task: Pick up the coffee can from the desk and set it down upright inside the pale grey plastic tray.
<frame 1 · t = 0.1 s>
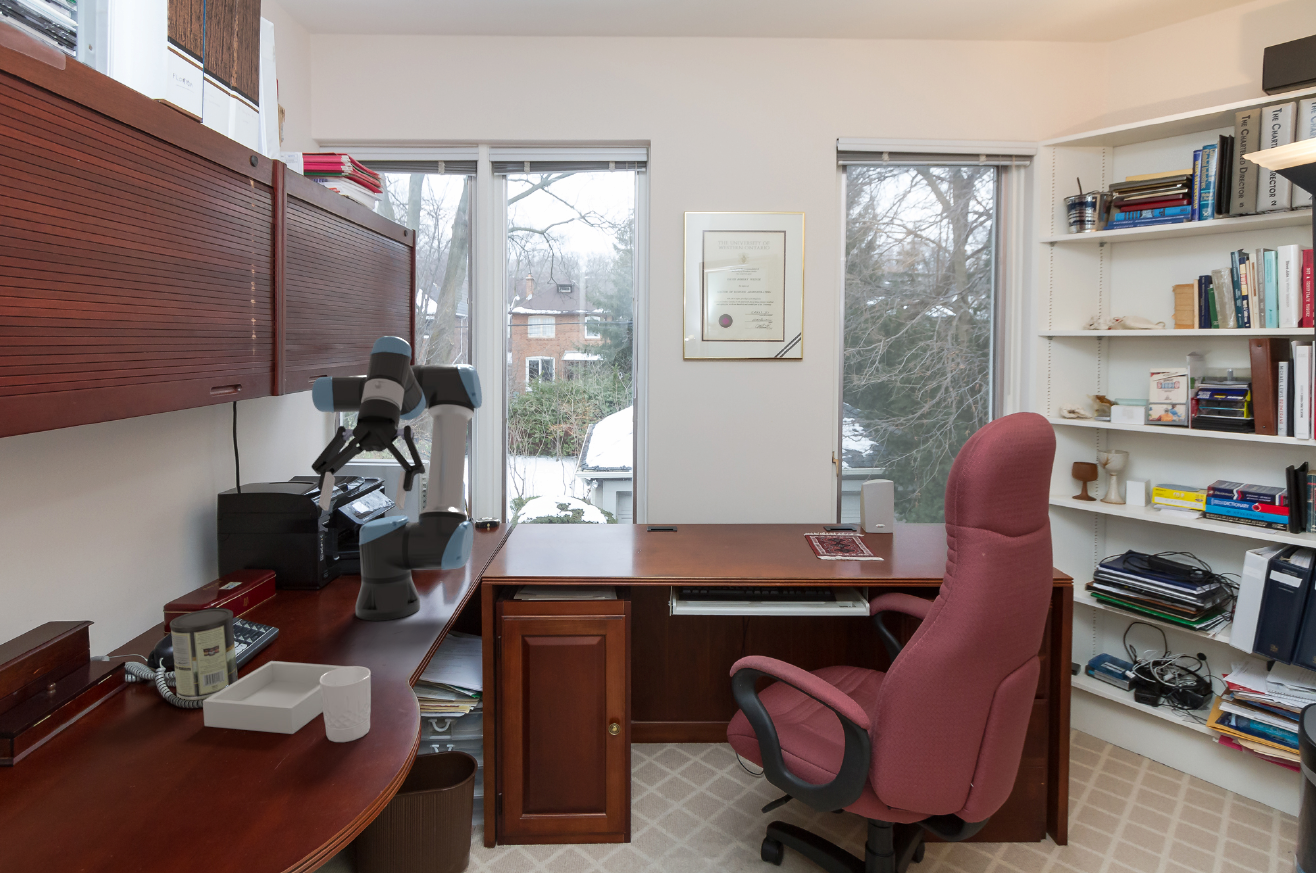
hand: (361, 507, 134), 36 cm above the table, tool tilted 35°, fingers open, 13 cm apart
white cup: (348, 733, 125), on the table
coffee can: (207, 689, 143), on the table
tray: (282, 706, 135), on the table
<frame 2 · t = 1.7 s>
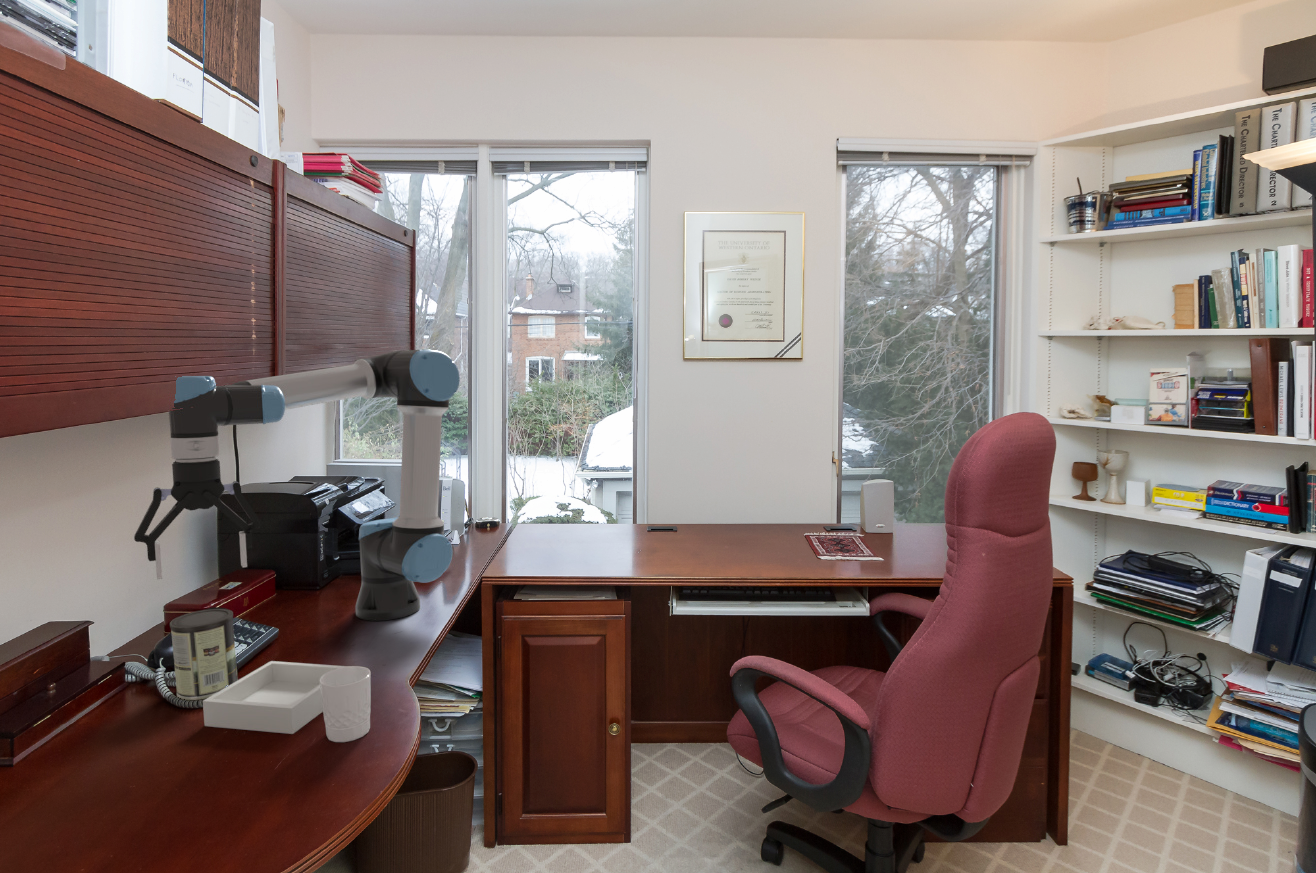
hand: (202, 571, 140), 23 cm above the table, tool pointing down, fingers open, 13 cm apart
nothing on the table moved.
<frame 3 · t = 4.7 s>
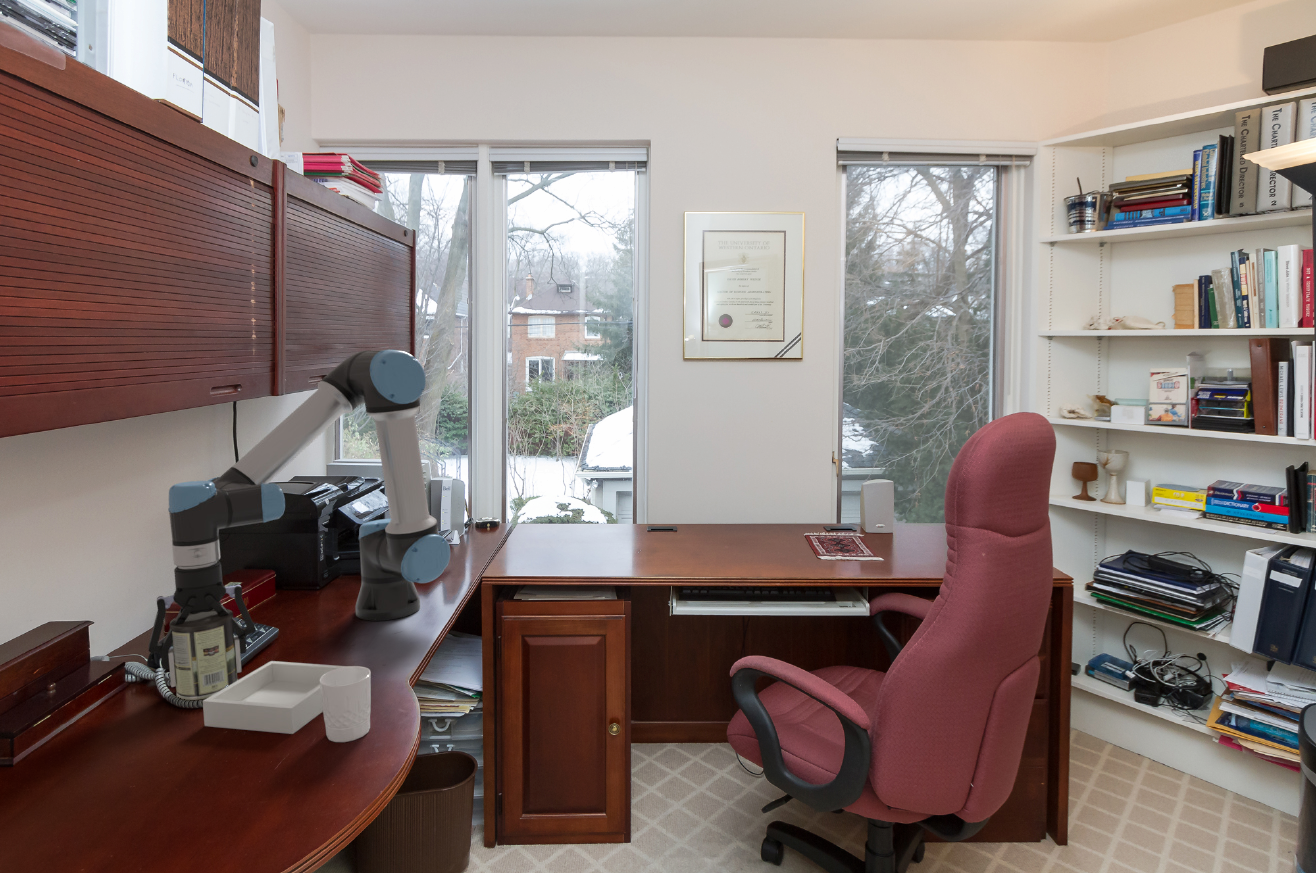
hand: (206, 676, 142), 2 cm above the table, tool pointing down, fingers closed on coffee can, 10 cm apart
coffee can: (207, 689, 143), on the table, touching gripper
everything else where it was.
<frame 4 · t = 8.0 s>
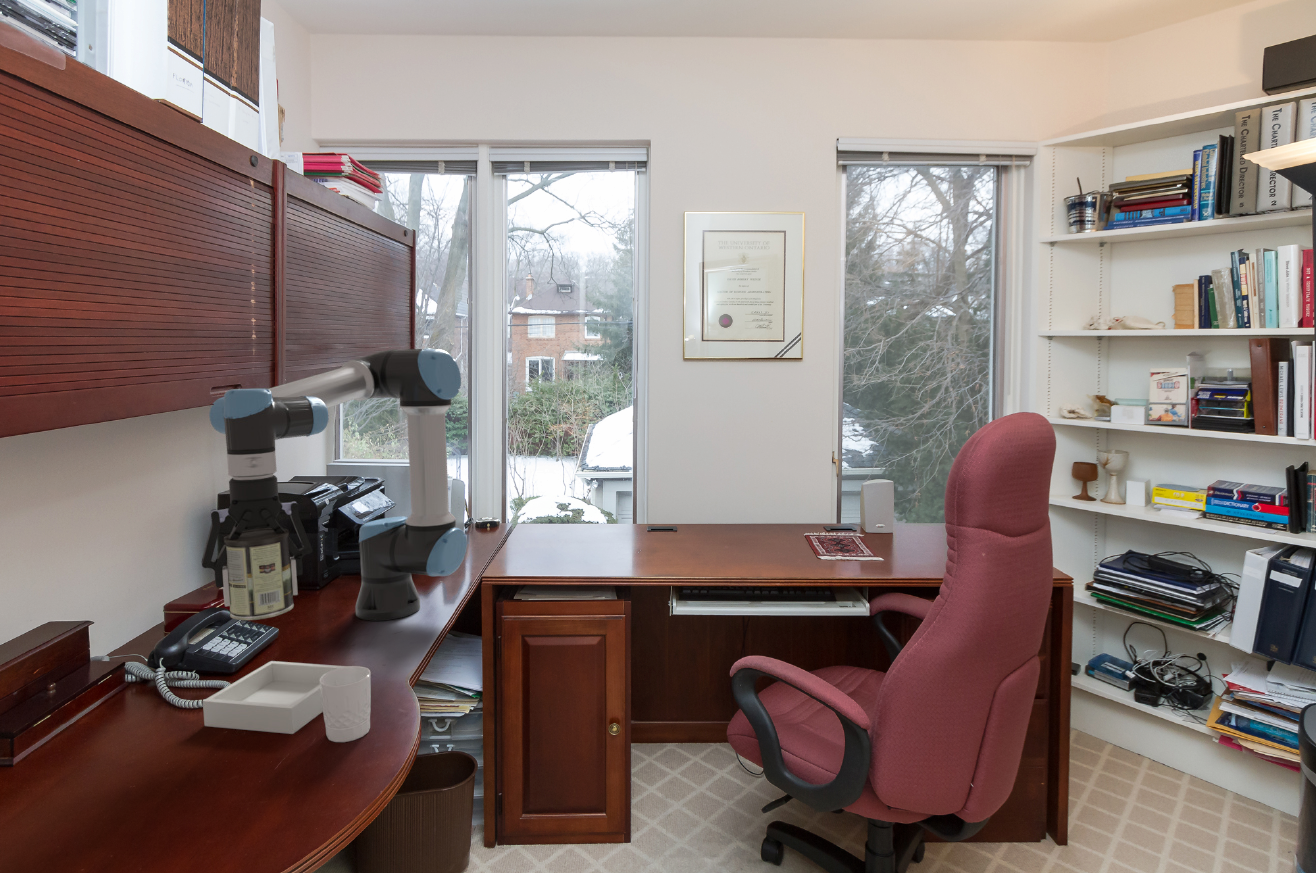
hand: (261, 598, 133), 20 cm above the table, tool pointing down, fingers closed on coffee can, 10 cm apart
coffee can: (262, 611, 134), point 17 cm above the table, touching gripper
everything else where it was.
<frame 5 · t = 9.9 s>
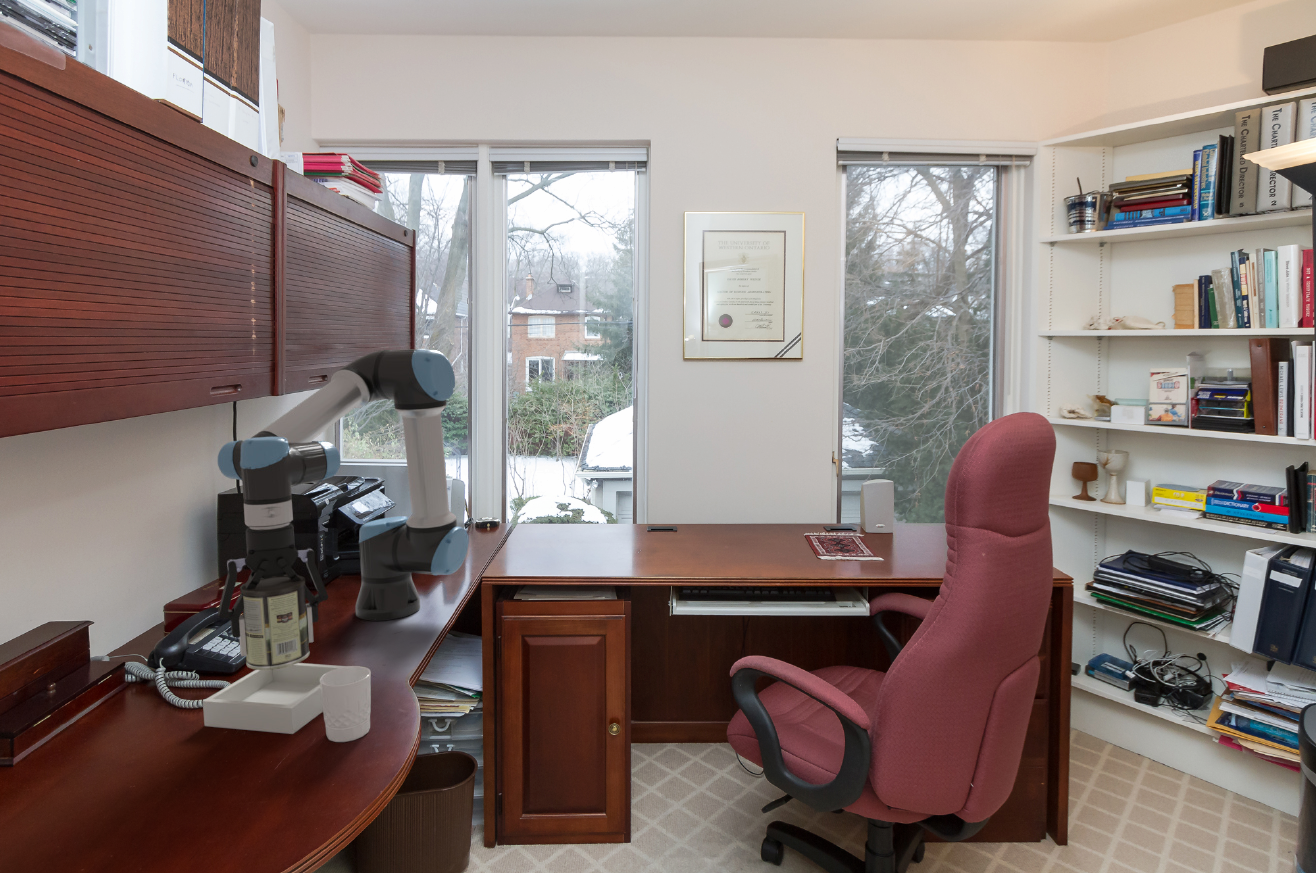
hand: (277, 646, 133), 11 cm above the table, tool pointing down, fingers closed on coffee can, 10 cm apart
coffee can: (278, 659, 133), point 9 cm above the table, touching gripper
everything else where it was.
when the fingers open (5 cm above the table, at t = 11.6 s): coffee can drops 2 cm, resting on tray.
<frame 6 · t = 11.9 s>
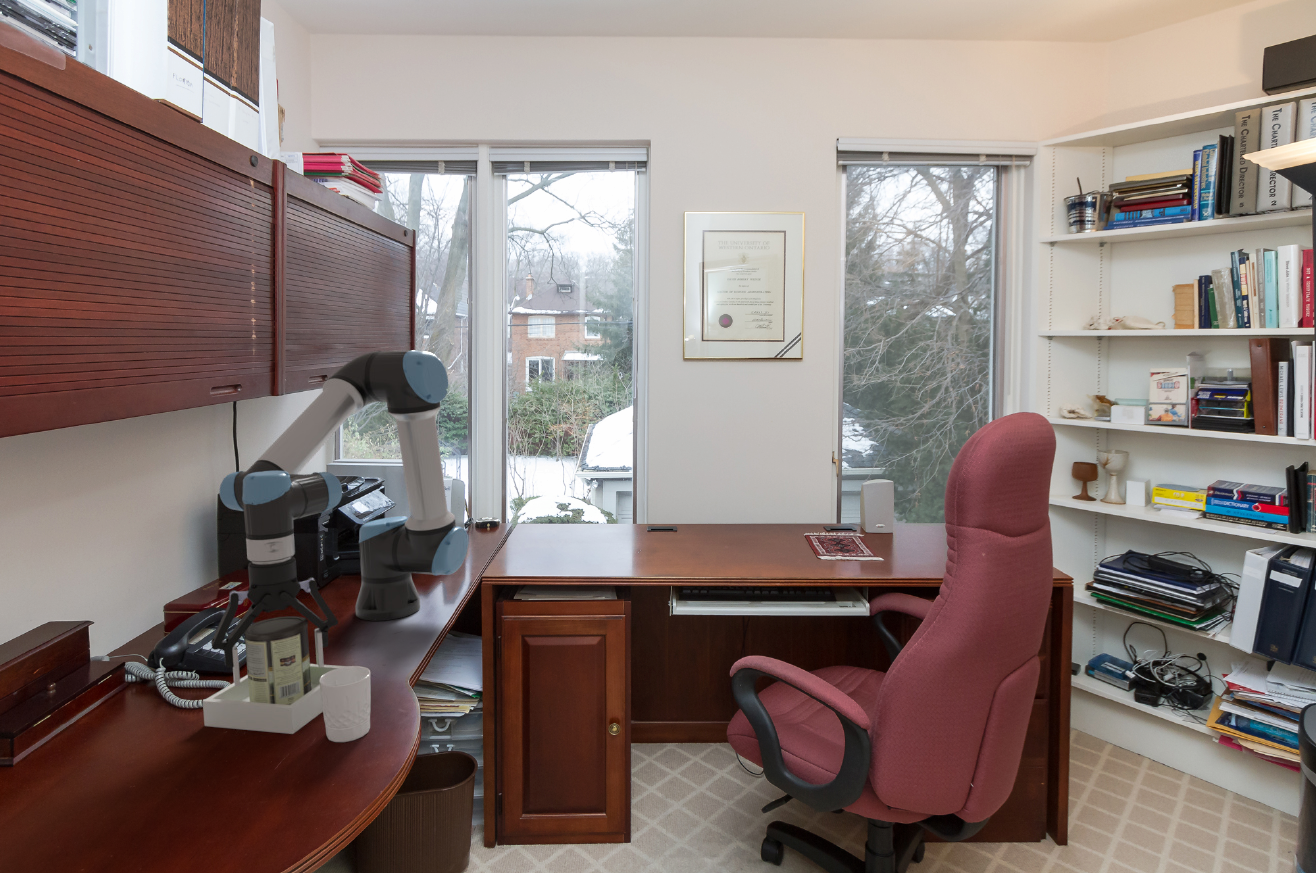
hand: (279, 674, 134), 6 cm above the table, tool pointing down, fingers open, 13 cm apart
coffee can: (281, 702, 134), point 1 cm above the table, touching tray
everything else where it was.
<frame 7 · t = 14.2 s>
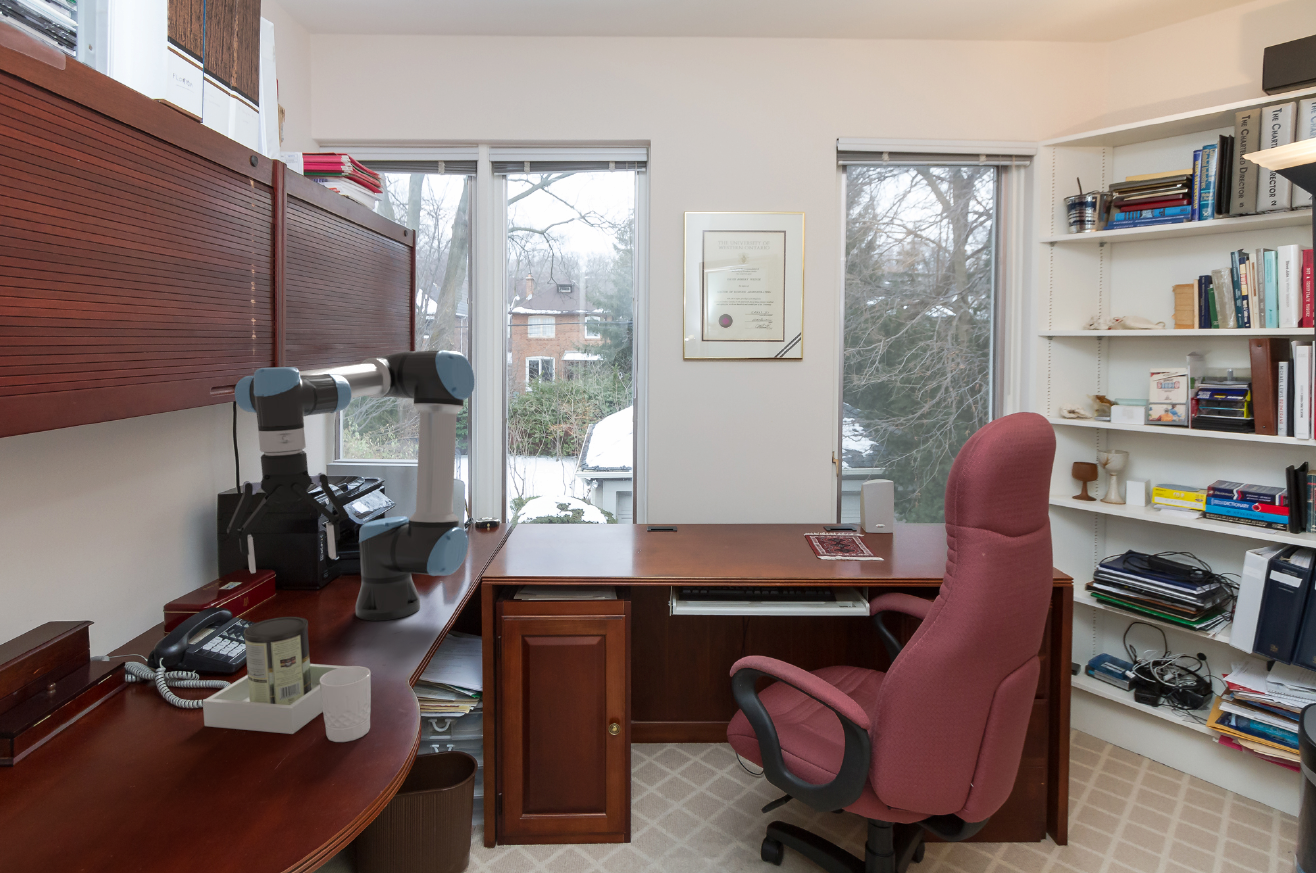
hand: (293, 564, 139), 25 cm above the table, tool pointing down, fingers open, 13 cm apart
nothing on the table moved.
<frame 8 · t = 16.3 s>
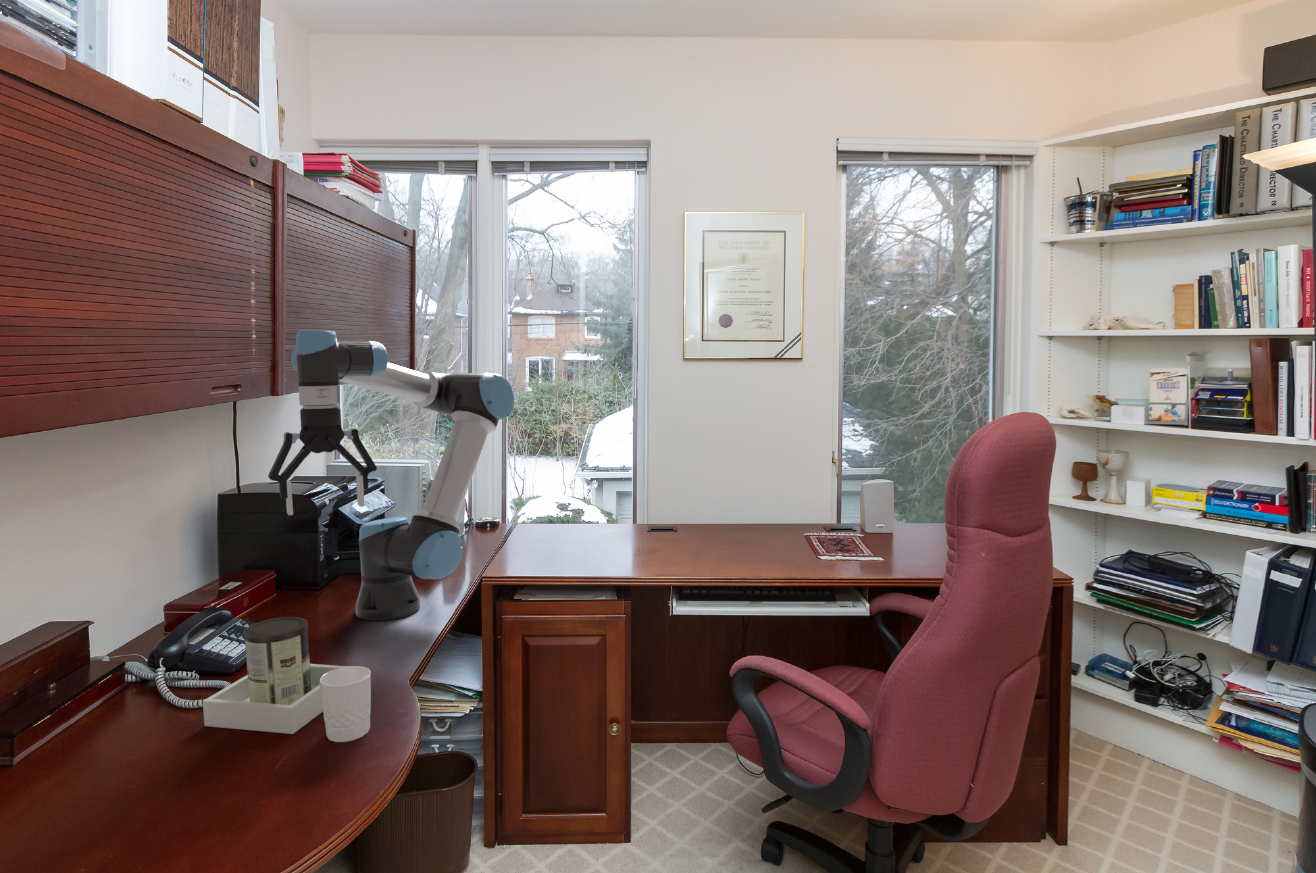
hand: (326, 509, 153), 32 cm above the table, tool pointing down, fingers open, 13 cm apart
nothing on the table moved.
at the end: coffee can 0.1 cm off-centre on the tray, point 0.8 cm above the tray's base; coffee can tilted 0°; the gripper is holding nothing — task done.
